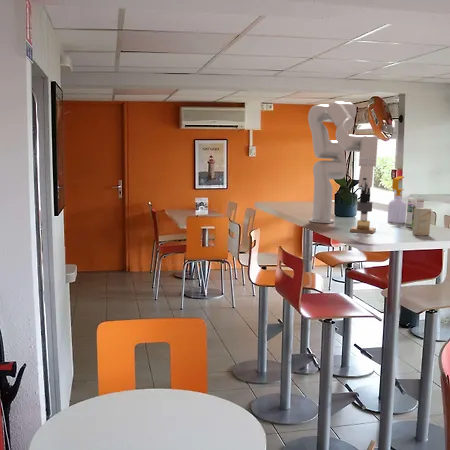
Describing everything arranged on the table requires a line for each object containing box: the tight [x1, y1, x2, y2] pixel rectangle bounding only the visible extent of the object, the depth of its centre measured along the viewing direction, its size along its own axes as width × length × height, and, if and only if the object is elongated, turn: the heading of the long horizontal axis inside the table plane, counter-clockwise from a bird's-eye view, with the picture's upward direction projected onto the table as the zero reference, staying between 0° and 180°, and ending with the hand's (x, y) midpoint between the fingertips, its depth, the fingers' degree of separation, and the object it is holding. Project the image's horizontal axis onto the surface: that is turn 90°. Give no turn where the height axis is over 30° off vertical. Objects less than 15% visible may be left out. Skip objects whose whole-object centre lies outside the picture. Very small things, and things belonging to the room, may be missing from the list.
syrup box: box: [405, 197, 425, 229], centre depth 278 cm, size 6×6×14 cm
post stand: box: [349, 211, 376, 235], centre depth 256 cm, size 10×10×12 cm
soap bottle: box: [387, 175, 407, 224], centre depth 297 cm, size 9×9×25 cm
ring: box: [356, 200, 373, 213], centre depth 255 cm, size 6×6×4 cm
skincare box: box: [411, 207, 432, 237], centre depth 251 cm, size 6×4×12 cm
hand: (364, 201), depth 255 cm, fingers open, 7 cm apart
